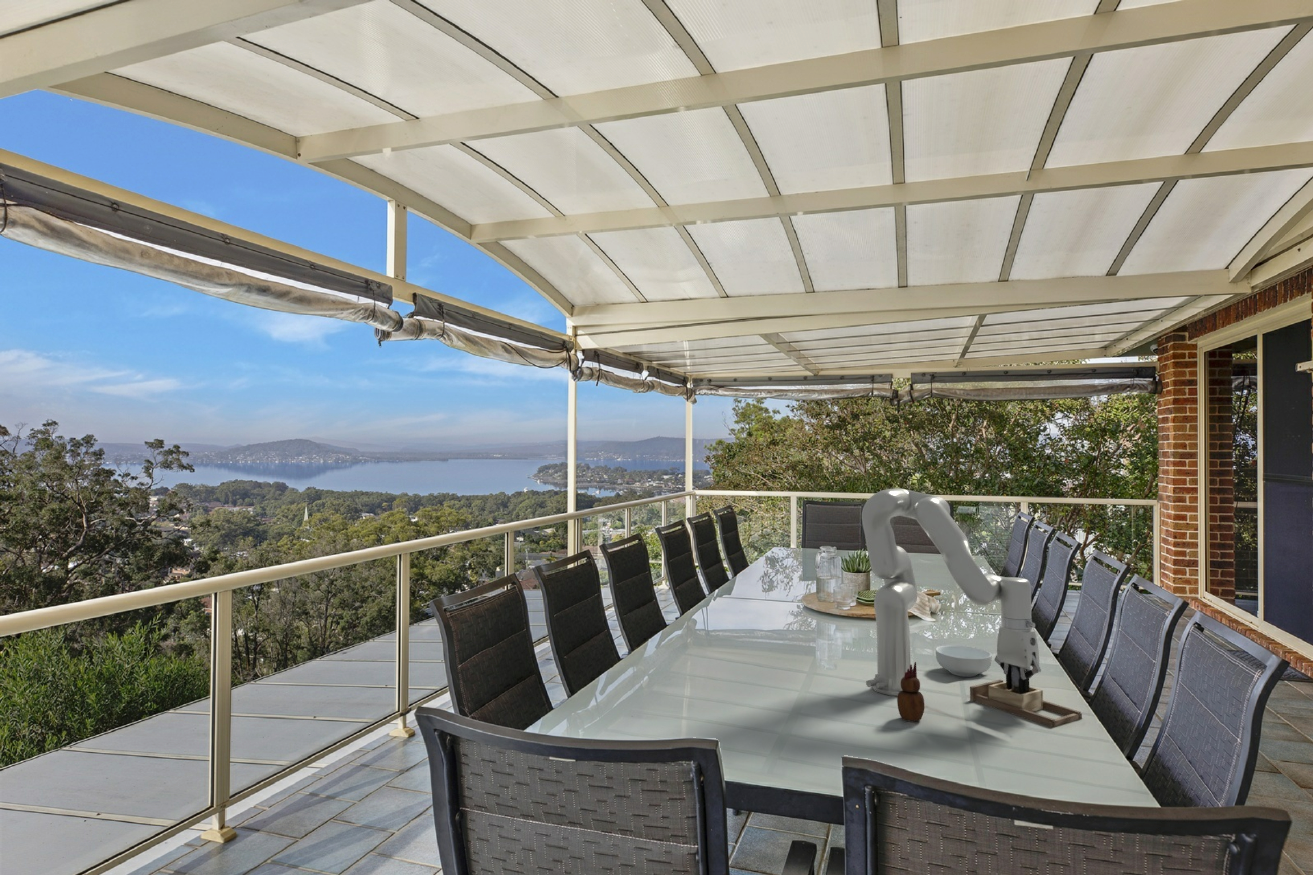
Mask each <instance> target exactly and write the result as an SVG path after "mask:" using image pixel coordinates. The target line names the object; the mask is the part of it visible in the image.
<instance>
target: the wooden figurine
mask: <svg viewBox="0 0 1313 875" xmlns="http://www.w3.org/2000/svg"><path fill="white" fill-rule="evenodd" d="M917 672H918V671H917V662H916V661H915V662H914V664H913V665H912V664H911V665H910V671H909V669H907V672H905V676H904V677H903V678H902V679H901V688H902V691H900V692H899V693H898V696H896V697H897V698H896V701H897V702H896V703H897V709H898V714H899V715H900V716H899V717H900V718H901V719H902V720H904V721H907V722H918V721H920V720H922V717H923V715H924V713H925V698H924V695H923V694H922V692H921V691H920V689H921V682H920V680H919V679H918V675H917V674H918V673H917Z"/></svg>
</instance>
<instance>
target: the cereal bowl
mask: <svg viewBox="0 0 1313 875" xmlns="http://www.w3.org/2000/svg"><path fill="white" fill-rule="evenodd" d="M992 656H993V655H992V653H991V652H990V651H987V650H985V649H982V648H977V647H973V646H967V645H965V646H964V645H941V646H937V647H936V648H935V659H936V661H937V663H938V665H939V666H940V667H942V668H943V669H944V670H946V671H949V673H951V675H954V676H958V677H966V678H967V677H968V678H971V677H972V678H973V677H976V676H977V675H979V674H983V673H986V672H987V671H988V670H989V669H990V667H991V665H992V660H993V658H992Z"/></svg>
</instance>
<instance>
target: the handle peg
mask: <svg viewBox="0 0 1313 875" xmlns="http://www.w3.org/2000/svg"><path fill="white" fill-rule="evenodd" d="M1019 679H1021V672H1020V667H1017V666H1014V665H1011V692H1014V693H1018V694H1021V693H1020V692H1019Z"/></svg>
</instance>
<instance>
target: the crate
mask: <svg viewBox="0 0 1313 875" xmlns="http://www.w3.org/2000/svg"><path fill="white" fill-rule="evenodd" d="M1043 691H1044V690H1043V689H1040V688H1036V687H1033V686H1030V685H1029V692H1028V693H1024V694H1018V693H1014V692H1011V690H1007V685H1006V681H1003V682H1002V683H997V684H993V685H989V698H991V699H994V700H997V701H1000V702H1003V703H1006V704H1009V705H1012V706H1015V707H1018V708H1021V709H1025V710H1028V711H1031V712H1034V713H1035V712H1037V711H1041V710H1043V700H1044V693H1043Z"/></svg>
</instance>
